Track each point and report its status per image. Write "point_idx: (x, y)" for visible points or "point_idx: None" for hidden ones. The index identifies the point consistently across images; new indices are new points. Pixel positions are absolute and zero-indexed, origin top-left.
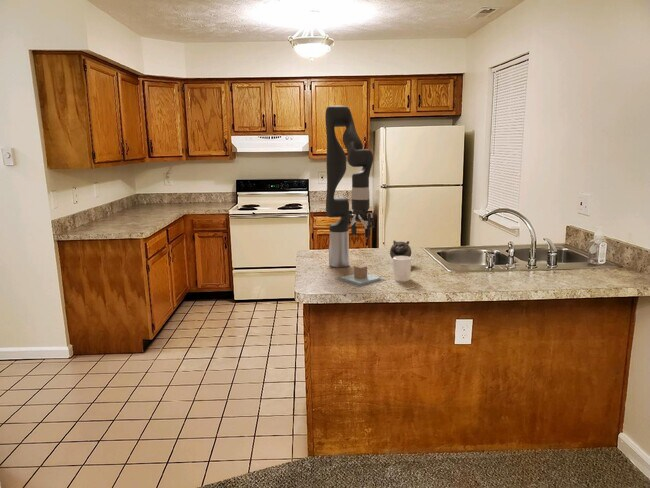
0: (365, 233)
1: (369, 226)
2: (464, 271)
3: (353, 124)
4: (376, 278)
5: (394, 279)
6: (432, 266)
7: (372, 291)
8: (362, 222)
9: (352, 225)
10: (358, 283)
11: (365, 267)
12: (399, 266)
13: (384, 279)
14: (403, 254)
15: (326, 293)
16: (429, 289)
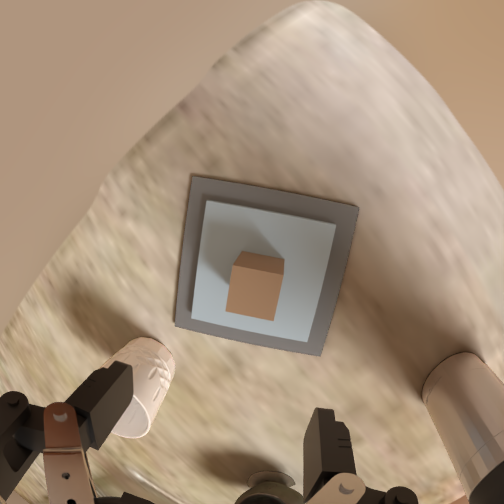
0: (105, 380)
1: (8, 399)
2: (111, 475)
3: None
4: (196, 301)
5: (159, 345)
6: (190, 492)
7: (134, 183)
8: (68, 462)
9: (328, 482)
10: (213, 201)
11: (227, 299)
12: (108, 363)
13: (187, 329)
14: (242, 501)
15: (255, 47)
16: (46, 315)
